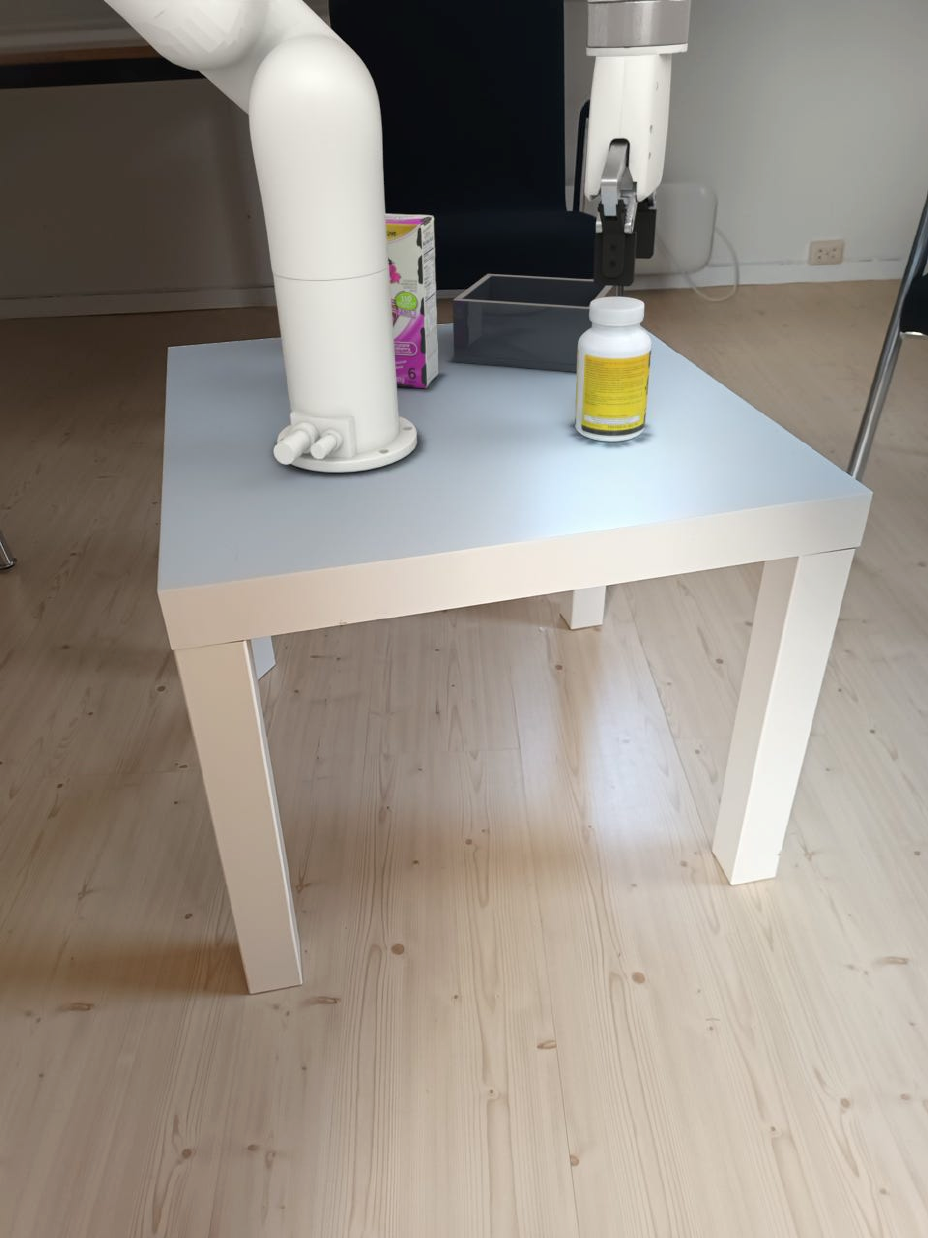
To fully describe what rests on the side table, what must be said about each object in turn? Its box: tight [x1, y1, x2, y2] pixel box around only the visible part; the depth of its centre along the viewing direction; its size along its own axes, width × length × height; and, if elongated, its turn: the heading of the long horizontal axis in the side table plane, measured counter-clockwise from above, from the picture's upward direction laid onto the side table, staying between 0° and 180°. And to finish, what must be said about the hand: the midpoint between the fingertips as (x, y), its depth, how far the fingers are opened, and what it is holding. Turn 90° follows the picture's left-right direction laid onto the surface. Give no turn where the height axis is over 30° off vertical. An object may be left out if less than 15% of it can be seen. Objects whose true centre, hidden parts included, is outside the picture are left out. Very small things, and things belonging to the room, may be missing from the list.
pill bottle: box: [574, 296, 652, 442], centre depth 83 cm, size 6×6×12 cm
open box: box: [452, 273, 617, 373], centre depth 105 cm, size 13×16×7 cm
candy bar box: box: [385, 213, 440, 389], centre depth 95 cm, size 11×5×16 cm, turn 76°
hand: (624, 270), depth 78 cm, fingers open, 9 cm apart
